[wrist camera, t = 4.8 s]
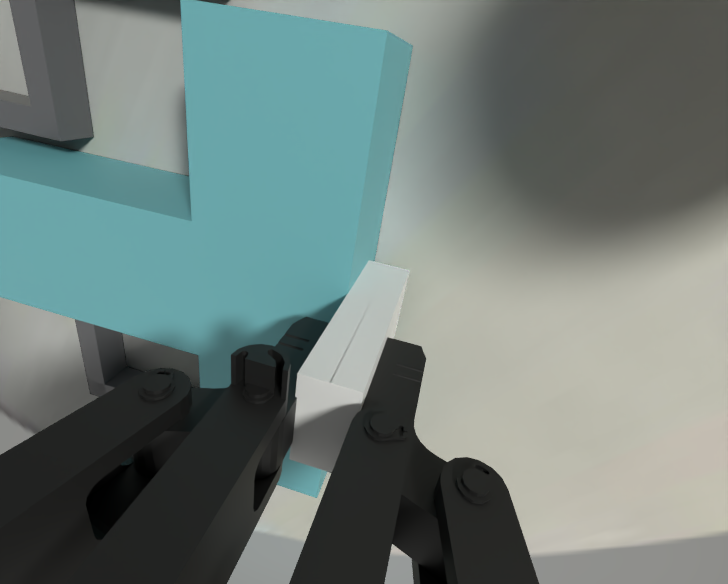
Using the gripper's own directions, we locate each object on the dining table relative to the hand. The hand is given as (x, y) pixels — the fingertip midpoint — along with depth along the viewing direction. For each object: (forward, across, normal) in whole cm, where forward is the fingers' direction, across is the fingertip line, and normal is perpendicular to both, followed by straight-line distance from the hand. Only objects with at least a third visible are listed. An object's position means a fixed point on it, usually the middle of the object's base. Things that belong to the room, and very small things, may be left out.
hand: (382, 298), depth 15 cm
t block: (+1, -9, 0) cm, 9 cm away
